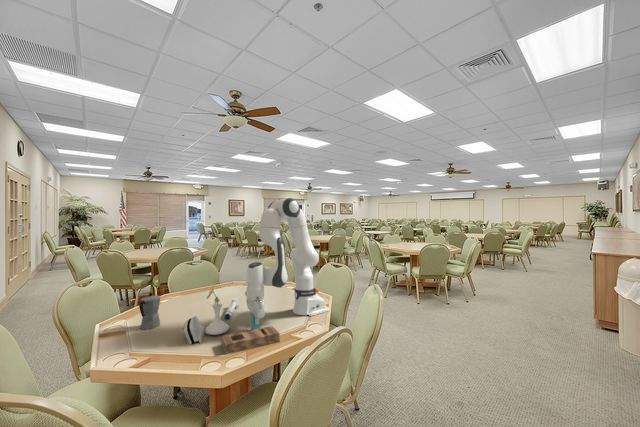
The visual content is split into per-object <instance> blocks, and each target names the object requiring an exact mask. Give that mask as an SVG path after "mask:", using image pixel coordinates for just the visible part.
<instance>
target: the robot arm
mask: <svg viewBox="0 0 640 427" xmlns="http://www.w3.org/2000/svg"><path fill="white" fill-rule="evenodd" d="M282 219H286V220H287V222H288V224H287V225H288V229H289V234H290V240H291V242H292V243H293V245H294V248H293V249H292V250H291V251H290V259H291V261H292V262H291V263H292V266H293V271H294V285H295V286H294V294H293V295H294V305H293V309H292V313H293V314H294V315H297V316H307V315H309V316H308V317H312V316H315V315H320V314H323V313H327V312H329V311H330V308H329V307H328V306H327V305H326V300H324V298H323V297H321V296H320V295H319V294H318V293H319V292H320V289H319V288H315V287H314V274H313V272H312V269H311V268H312V267H315V266H317V264H318V263H319V261H320V260H319V259H320V256H319V254H318V252H317V251H316V249H315V247H314V245H313V242H312V240H311V237H310V233H309V229H308V224H307V219H306V217H305V214H304V211H303V210H302V208H300V204H299V202H298V201H297V200H296V199H294V198H292V197H288V198H281V199H279V200H274V201H272V202H270V204H269V205H268V207H267V208H265V209H264V210H263V211H262V214H261V217H260V220H259V230H258V237H259V239H260V241H261V242H263V243H264V244H265V245H267V246H269V247H270V248H272V250H274V254H275V267H270V266H265V265H263V263H262V262H261V261H260V262H258V261H257V262H251V263H249V264H248V266H247V267H246V268H247V269H246V278H245V279H246V280H245V281H246V284H247V285H246V288H245V289H246V290H245V292H244V296H246V307H247V309H248V310H249V312H250V313H251V312H252V313H253V315H254V316H255V324H259V319H260V320H261V319H263V318H265V304H264V301H262V300H263V299H264V298H265V287H264V286H270V287H275V288H282V287H284V286H285V285H286V284H287V282H288V280H289V273H288V269H287V260H286V247H285V240H284V239H283V238H282V237H281V231H280V225H281V220H282Z"/></svg>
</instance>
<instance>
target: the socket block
mask: <svg viewBox="0 0 640 427" xmlns="http://www.w3.org/2000/svg"><path fill="white" fill-rule="evenodd" d="M280 335H281V334H280V332H279V330H277V329H276V328H275V327H274V326H273V325H270V326H266V327H265V326H264V327H260V328H259V329H254V330H251V329H250V330H245V331H240V332H236V333H230V334H225V335H221V348H222V349H223V351H224V353H225V355H228V354H233V353H237V352H242V351H247V350H249V349H250V350H251V349H254V348H255V349H256V348H260V347H264V346H266V345H267V346H268V345H272V344H276V343H280V342H281V340H280Z"/></svg>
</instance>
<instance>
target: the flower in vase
mask: <svg viewBox="0 0 640 427" xmlns="http://www.w3.org/2000/svg"><path fill="white" fill-rule="evenodd" d="M215 288H216V284H213V285H212V286H211V288H210V291H208V294H207V296H206V300H209V299H210V297H211V296H212V294H213V295H214V297H215V298H214V300H213V301H214V303H213V304H212V305H211V307H212V308H213V310H214V319H213V321H211V323H210V324H209V325H208V326H206V327H205V332H204V333H206V335H211V336H217V335H222V334H224V333H226V332H227V331H228V330H229V329H230V326H229V324H228V323H226V322H225V321H223V320H222V319H221V317H220V313H221V308H222V306H223V304H222V303H219V302H221V301H220V298H219V297H218V296H217V295H216V294H215V292H214V290H215Z"/></svg>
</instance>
